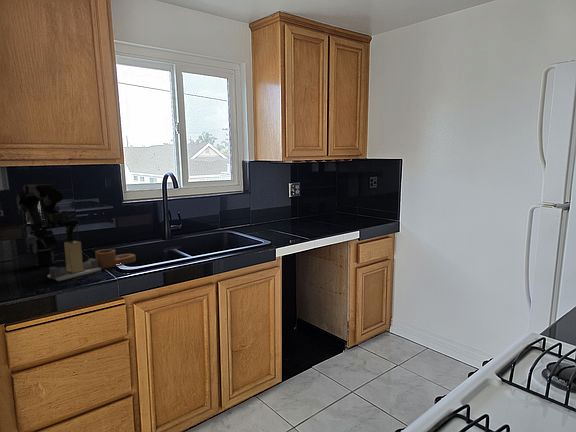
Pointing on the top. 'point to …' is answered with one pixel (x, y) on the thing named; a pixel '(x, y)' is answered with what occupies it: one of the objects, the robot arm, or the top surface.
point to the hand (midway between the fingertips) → (59, 245)
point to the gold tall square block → (73, 256)
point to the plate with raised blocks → (63, 274)
